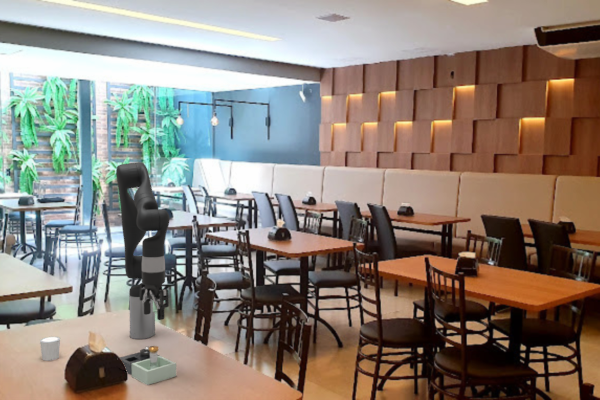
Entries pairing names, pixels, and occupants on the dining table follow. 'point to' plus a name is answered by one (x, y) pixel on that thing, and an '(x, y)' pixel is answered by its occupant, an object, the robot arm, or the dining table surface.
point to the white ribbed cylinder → (50, 348)
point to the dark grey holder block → (135, 358)
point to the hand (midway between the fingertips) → (153, 316)
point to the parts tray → (153, 370)
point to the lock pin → (153, 356)
